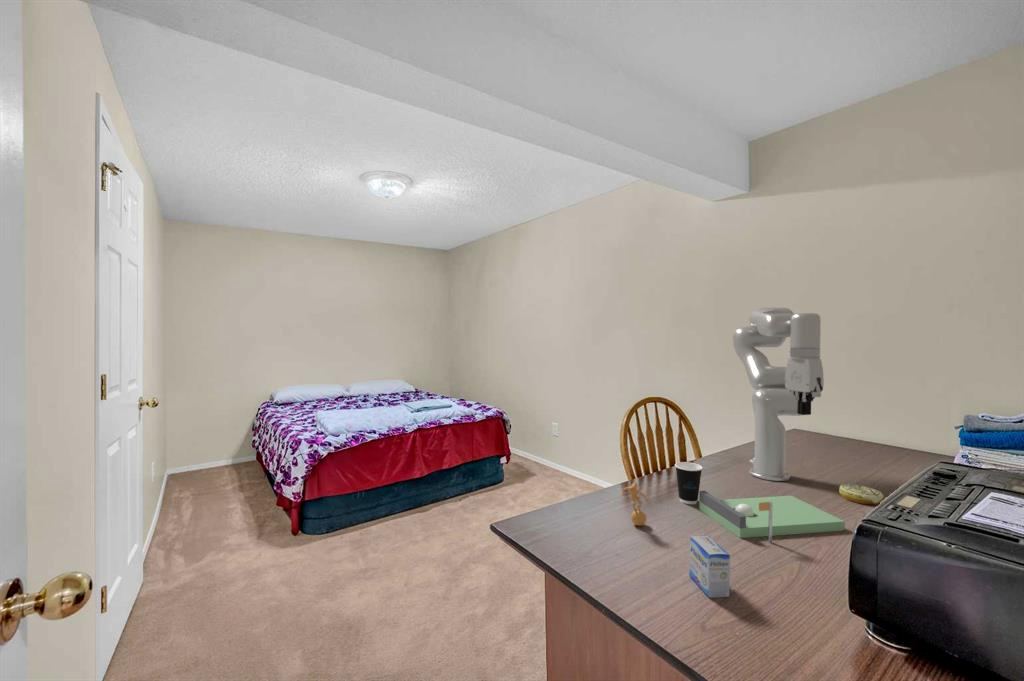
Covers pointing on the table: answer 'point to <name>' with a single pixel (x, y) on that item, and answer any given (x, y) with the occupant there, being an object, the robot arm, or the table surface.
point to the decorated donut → (861, 494)
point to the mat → (785, 516)
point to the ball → (745, 510)
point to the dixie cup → (688, 481)
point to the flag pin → (765, 507)
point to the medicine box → (709, 566)
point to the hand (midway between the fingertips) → (804, 414)
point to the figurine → (638, 515)
